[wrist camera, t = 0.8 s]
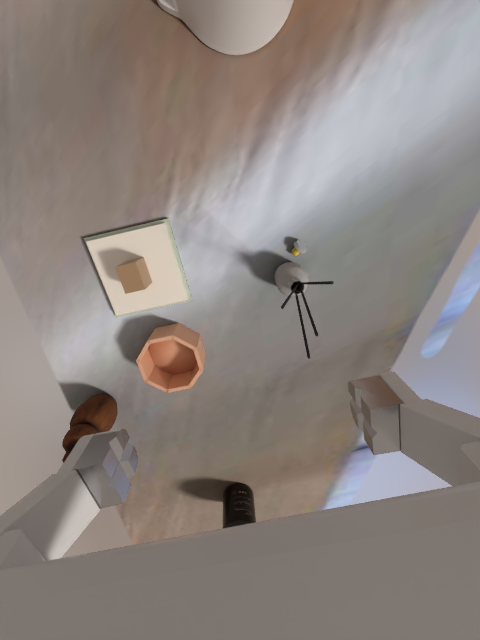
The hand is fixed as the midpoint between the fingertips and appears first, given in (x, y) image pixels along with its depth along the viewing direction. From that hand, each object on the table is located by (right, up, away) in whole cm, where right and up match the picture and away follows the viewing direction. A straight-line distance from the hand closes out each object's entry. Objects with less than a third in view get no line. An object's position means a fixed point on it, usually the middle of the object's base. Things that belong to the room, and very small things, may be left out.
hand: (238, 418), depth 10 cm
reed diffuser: (+7, +12, +36) cm, 39 cm away
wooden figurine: (-26, -12, +45) cm, 53 cm away
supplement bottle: (0, -36, +55) cm, 66 cm away
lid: (-16, +11, +35) cm, 40 cm away
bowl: (-11, -2, +41) cm, 42 cm away
